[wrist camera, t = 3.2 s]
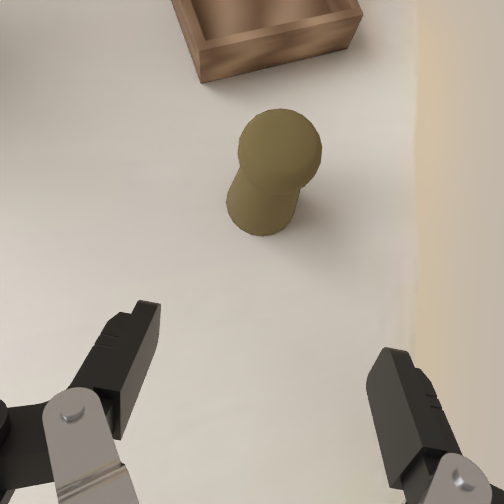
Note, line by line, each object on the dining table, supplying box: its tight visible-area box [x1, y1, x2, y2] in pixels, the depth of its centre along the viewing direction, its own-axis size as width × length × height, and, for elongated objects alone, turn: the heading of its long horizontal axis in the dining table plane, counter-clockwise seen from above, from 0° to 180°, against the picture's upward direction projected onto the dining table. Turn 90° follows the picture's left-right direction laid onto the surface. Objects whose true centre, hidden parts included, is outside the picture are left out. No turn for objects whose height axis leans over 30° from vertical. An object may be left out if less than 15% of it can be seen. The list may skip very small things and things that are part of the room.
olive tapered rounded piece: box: [226, 109, 322, 236], centre depth 26 cm, size 6×6×11 cm
